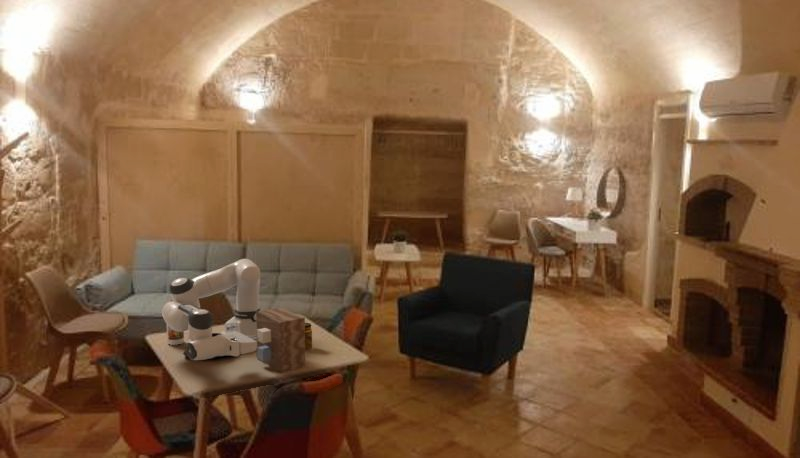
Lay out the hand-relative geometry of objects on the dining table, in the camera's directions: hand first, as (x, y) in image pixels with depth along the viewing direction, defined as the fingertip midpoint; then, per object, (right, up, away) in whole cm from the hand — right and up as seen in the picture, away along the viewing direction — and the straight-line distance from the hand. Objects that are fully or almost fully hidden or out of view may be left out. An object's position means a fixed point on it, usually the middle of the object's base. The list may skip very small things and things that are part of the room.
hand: (257, 338), depth 270 cm
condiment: (+16, -10, +29) cm, 35 cm away
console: (+8, -13, +9) cm, 18 cm away
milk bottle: (-48, -9, +36) cm, 60 cm away
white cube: (+3, -2, +3) cm, 5 cm away
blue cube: (+3, -10, +4) cm, 11 cm away
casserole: (-25, -11, +19) cm, 34 cm away
